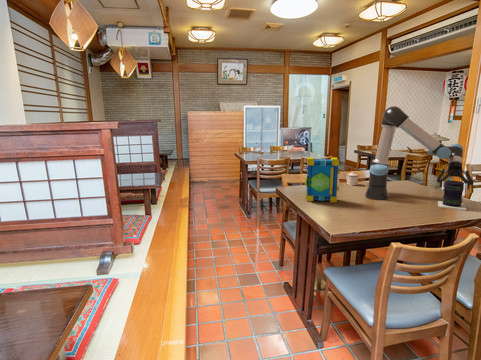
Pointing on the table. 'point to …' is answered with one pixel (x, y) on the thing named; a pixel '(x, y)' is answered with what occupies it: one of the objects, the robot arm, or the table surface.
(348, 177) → the teacup with lid
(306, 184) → the decorative book
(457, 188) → the rusty oil drum
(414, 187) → the table surface
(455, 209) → the placemat
